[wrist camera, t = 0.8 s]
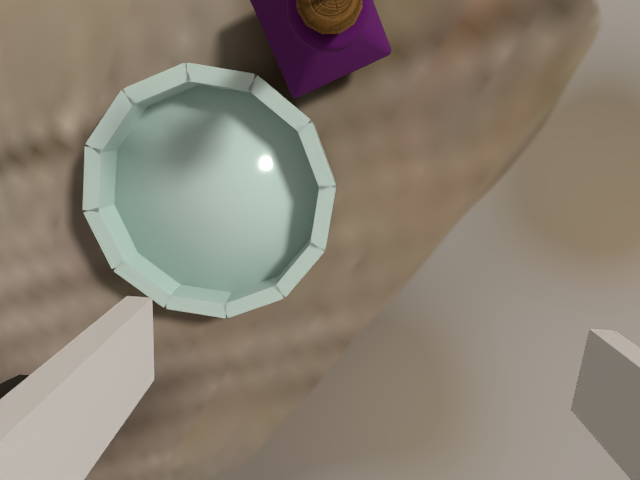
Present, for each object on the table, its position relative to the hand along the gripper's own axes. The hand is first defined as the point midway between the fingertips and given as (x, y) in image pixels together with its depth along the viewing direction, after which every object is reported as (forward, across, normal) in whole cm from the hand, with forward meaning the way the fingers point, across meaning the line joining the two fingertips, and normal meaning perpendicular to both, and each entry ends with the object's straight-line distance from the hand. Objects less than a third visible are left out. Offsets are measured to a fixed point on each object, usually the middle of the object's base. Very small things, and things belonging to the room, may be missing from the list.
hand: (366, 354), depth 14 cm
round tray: (+24, -10, +1) cm, 26 cm away
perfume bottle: (+24, -3, +13) cm, 28 cm away
